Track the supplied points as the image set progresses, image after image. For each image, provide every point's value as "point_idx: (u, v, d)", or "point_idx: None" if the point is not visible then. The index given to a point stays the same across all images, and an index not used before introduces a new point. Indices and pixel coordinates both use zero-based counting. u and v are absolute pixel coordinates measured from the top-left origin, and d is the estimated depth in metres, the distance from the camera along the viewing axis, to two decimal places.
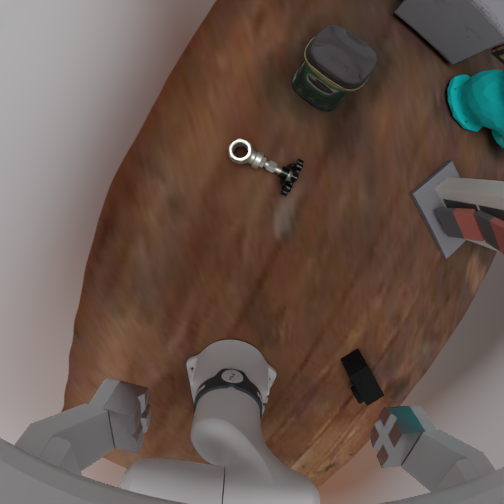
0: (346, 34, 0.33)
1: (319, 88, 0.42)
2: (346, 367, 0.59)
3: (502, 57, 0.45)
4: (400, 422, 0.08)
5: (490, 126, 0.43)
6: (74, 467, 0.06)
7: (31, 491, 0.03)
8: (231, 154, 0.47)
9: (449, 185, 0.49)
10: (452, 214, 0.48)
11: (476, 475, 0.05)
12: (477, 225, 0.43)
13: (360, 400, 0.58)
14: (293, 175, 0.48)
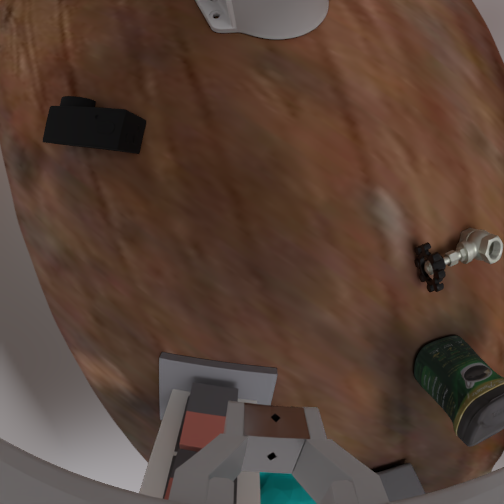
0: (498, 431, 0.26)
1: (472, 369, 0.32)
2: (135, 117, 0.31)
3: None
4: (283, 424, 0.08)
5: (269, 498, 0.38)
6: None
7: (31, 491, 0.03)
8: (498, 239, 0.31)
9: None
10: None
11: (356, 503, 0.05)
12: None
13: (67, 101, 0.27)
14: (444, 275, 0.32)
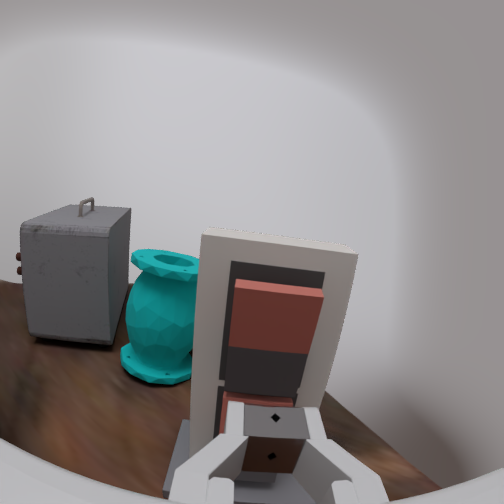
0: None
1: None
2: None
3: None
4: (282, 424, 0.08)
5: (181, 337, 0.43)
6: None
7: (31, 491, 0.03)
8: None
9: None
10: None
11: (356, 503, 0.05)
12: (254, 400, 0.25)
13: None
14: None
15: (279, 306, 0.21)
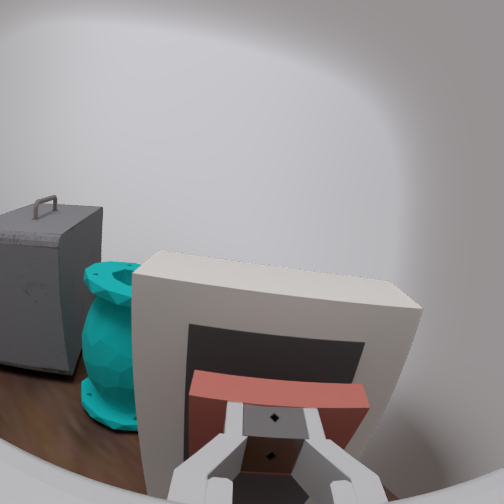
0: None
1: None
2: None
3: None
4: (281, 424, 0.08)
5: None
6: None
7: (31, 491, 0.03)
8: None
9: None
10: None
11: None
12: None
13: None
14: None
15: None
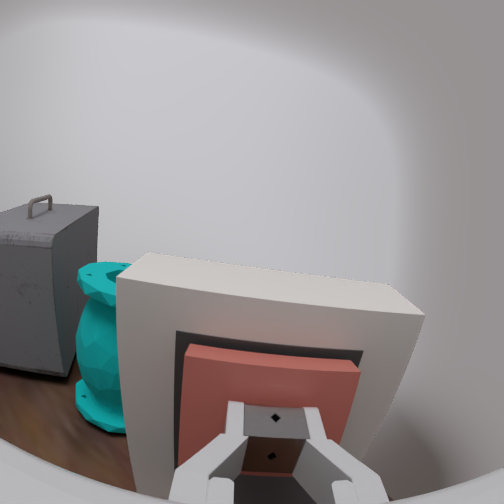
0: None
1: None
2: None
3: None
4: (282, 424, 0.08)
5: None
6: None
7: (31, 491, 0.03)
8: None
9: None
10: None
11: (356, 503, 0.05)
12: None
13: None
14: None
15: (275, 395, 0.10)
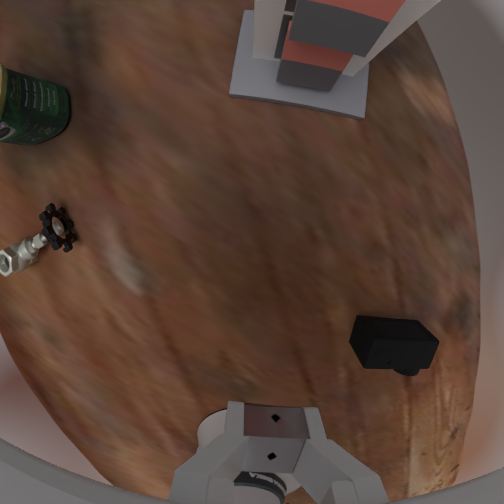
0: None
1: (2, 135, 0.25)
2: (357, 354, 0.38)
3: None
4: (282, 424, 0.08)
5: None
6: None
7: (31, 491, 0.03)
8: (3, 274, 0.32)
9: None
10: (286, 61, 0.26)
11: (356, 503, 0.05)
12: None
13: (412, 372, 0.36)
14: (42, 232, 0.31)
15: None
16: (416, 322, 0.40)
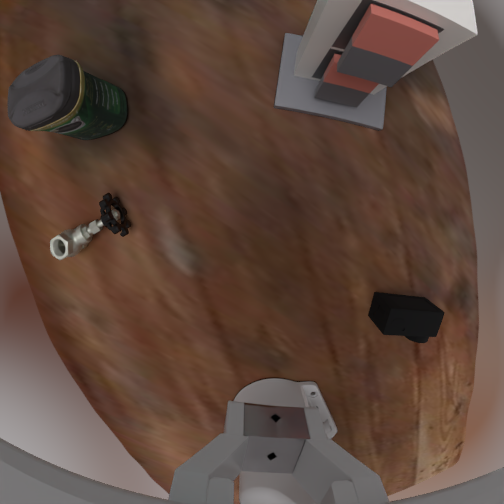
0: (25, 75, 0.23)
1: (71, 128, 0.32)
2: (376, 323, 0.45)
3: None
4: (282, 424, 0.08)
5: None
6: None
7: (31, 491, 0.03)
8: (58, 257, 0.40)
9: (298, 58, 0.35)
10: (326, 83, 0.33)
11: None
12: None
13: (423, 339, 0.43)
14: (104, 217, 0.39)
15: (403, 33, 0.18)
16: (424, 298, 0.48)
